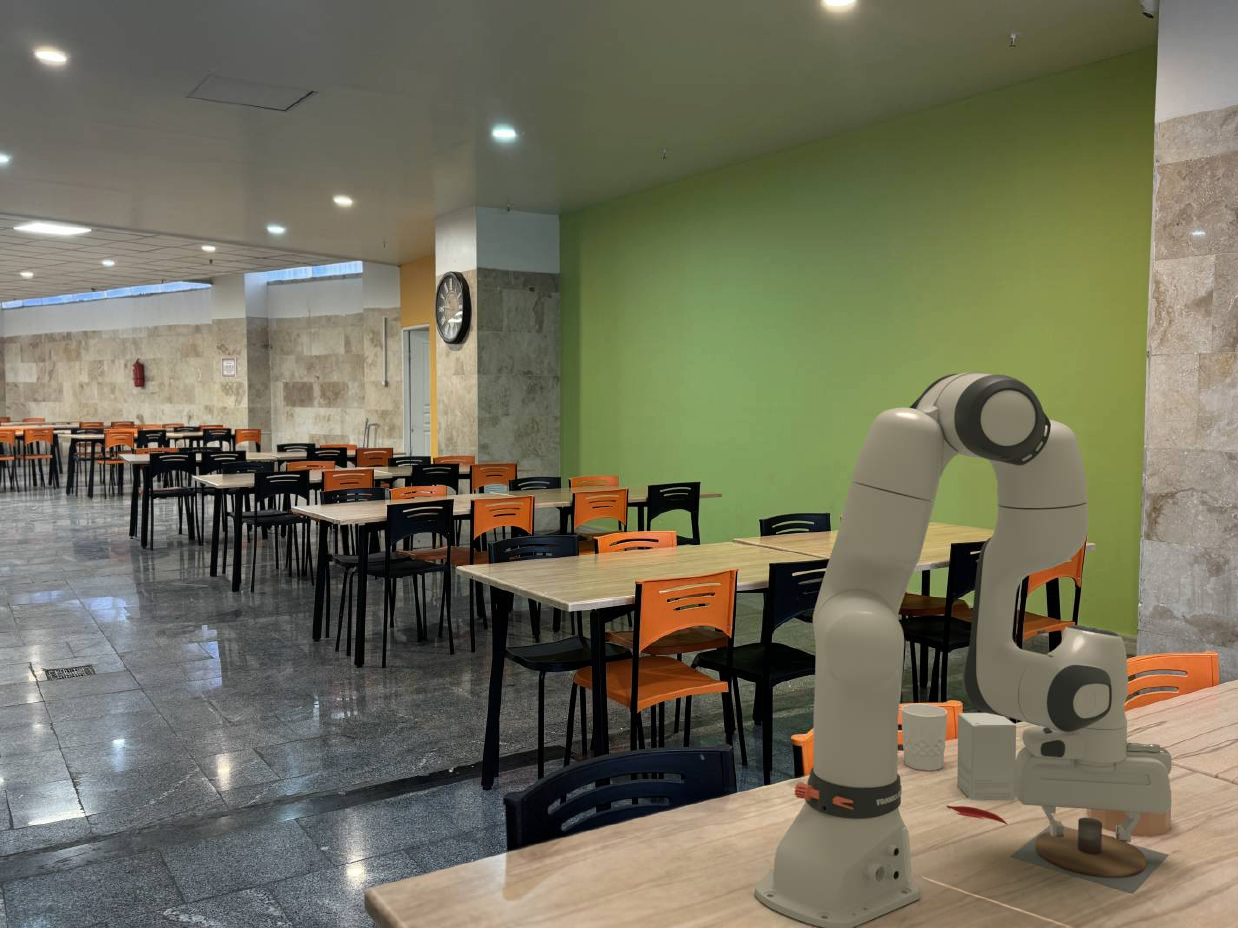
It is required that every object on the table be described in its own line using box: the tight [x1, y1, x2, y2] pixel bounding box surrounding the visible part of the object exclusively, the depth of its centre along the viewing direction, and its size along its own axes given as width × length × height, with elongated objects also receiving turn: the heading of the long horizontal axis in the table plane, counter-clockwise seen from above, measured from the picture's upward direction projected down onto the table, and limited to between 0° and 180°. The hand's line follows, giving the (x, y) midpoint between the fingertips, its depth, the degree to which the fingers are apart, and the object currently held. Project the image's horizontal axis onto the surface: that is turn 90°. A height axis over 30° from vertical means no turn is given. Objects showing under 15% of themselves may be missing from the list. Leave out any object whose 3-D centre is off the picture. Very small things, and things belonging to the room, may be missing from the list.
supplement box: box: [956, 712, 1017, 801], centre depth 164 cm, size 7×7×13 cm
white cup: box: [900, 703, 948, 772], centre depth 178 cm, size 8×8×10 cm
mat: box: [1009, 825, 1169, 894], centre depth 140 cm, size 16×16×1 cm
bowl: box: [1086, 807, 1172, 837], centre depth 152 cm, size 11×11×6 cm
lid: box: [1036, 817, 1146, 878], centre depth 140 cm, size 14×14×5 cm
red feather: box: [946, 804, 1009, 826], centre depth 154 cm, size 12×5×2 cm, turn 28°
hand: (1089, 837), depth 140 cm, fingers open, 7 cm apart
